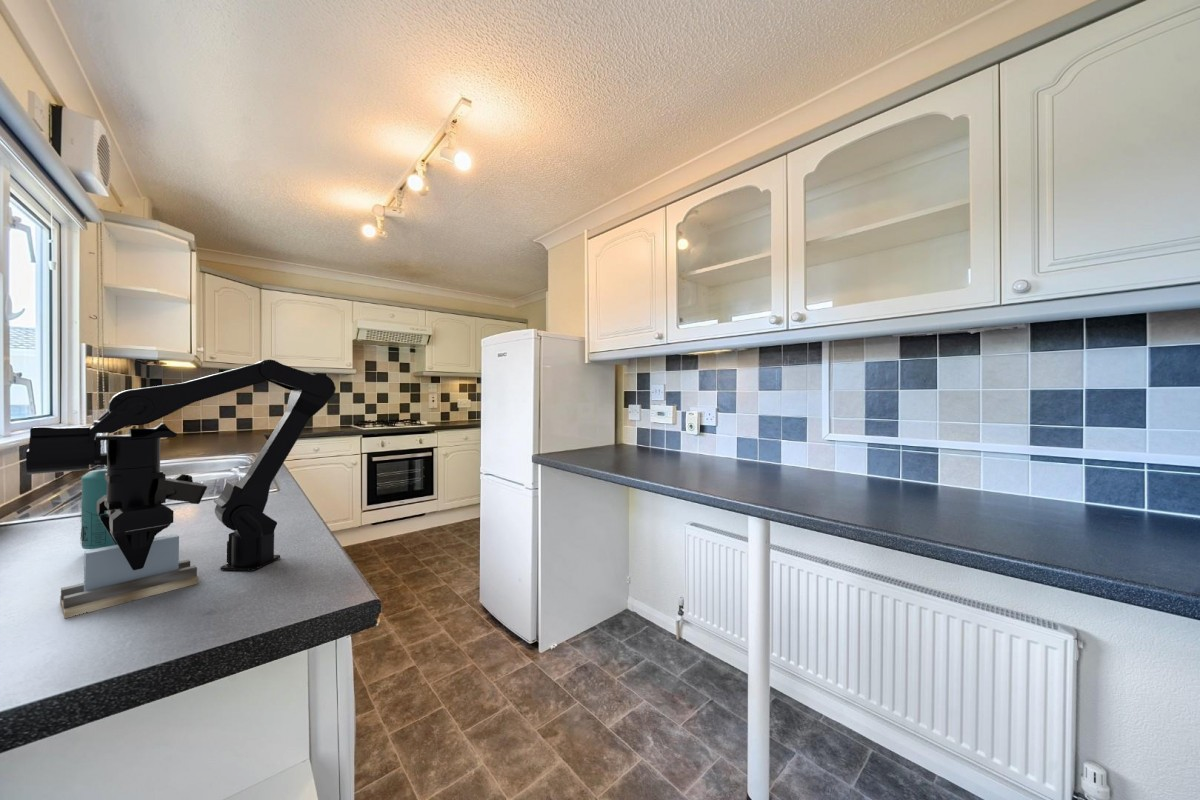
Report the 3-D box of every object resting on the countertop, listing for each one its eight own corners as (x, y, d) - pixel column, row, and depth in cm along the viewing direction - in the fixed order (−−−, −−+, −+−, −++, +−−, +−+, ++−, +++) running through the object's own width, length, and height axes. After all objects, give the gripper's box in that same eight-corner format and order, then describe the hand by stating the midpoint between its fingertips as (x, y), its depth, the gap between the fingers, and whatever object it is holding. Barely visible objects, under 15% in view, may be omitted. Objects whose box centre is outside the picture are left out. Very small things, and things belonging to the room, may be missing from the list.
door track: (186, 571, 75) (186, 557, 75) (198, 583, 70) (198, 568, 70) (60, 601, 63) (60, 585, 63) (64, 618, 59) (64, 601, 59)
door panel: (175, 573, 72) (176, 533, 72) (178, 576, 70) (179, 536, 70) (83, 595, 63) (84, 550, 63) (85, 599, 62) (85, 553, 62)
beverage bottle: (139, 546, 86) (140, 451, 86) (97, 558, 80) (99, 455, 80) (112, 544, 87) (113, 450, 87) (68, 556, 80) (70, 454, 80)
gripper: (217, 466, 68) (215, 560, 68) (188, 455, 79) (187, 537, 79) (114, 476, 59) (112, 584, 59) (96, 462, 69) (95, 554, 69)
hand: (132, 562), depth 67 cm, fingers open, 9 cm apart
